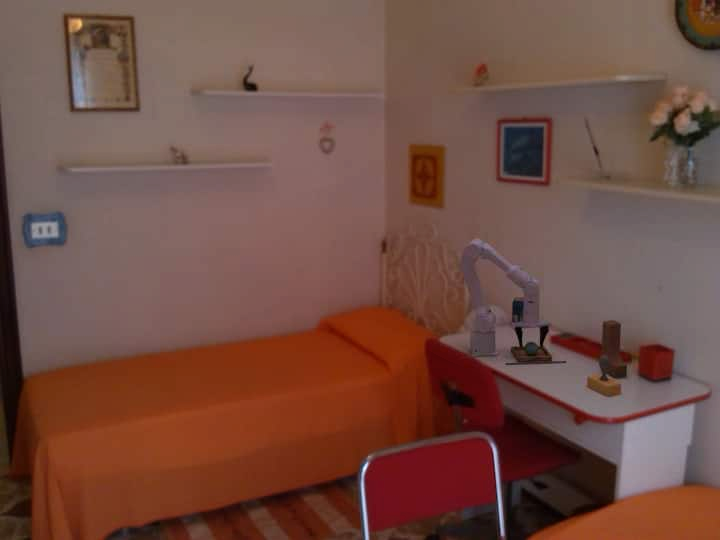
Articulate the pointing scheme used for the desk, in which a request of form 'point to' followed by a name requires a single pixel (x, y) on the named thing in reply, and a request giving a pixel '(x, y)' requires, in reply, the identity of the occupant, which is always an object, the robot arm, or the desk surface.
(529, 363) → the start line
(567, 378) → the desk surface
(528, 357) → the tray
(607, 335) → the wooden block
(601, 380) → the rubber stamp
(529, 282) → the robot arm
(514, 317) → the soda can
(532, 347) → the ball
